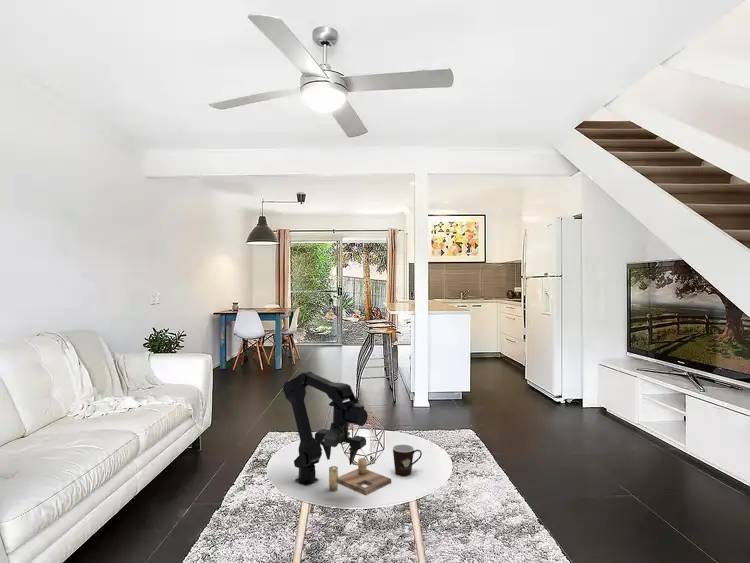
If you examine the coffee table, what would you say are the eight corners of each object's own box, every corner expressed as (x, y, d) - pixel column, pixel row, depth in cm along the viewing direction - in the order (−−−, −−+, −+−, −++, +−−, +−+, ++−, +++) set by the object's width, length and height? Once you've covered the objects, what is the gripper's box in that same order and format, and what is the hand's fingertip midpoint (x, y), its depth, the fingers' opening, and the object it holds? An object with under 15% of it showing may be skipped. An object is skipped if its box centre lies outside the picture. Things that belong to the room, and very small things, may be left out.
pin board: (335, 481, 178) (336, 463, 178) (361, 470, 188) (361, 453, 188) (366, 495, 167) (366, 475, 167) (391, 482, 178) (391, 464, 178)
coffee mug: (391, 476, 183) (391, 451, 183) (393, 468, 191) (393, 443, 191) (420, 478, 181) (421, 453, 181) (421, 469, 190) (421, 445, 190)
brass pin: (327, 489, 171) (327, 468, 171) (333, 486, 174) (333, 465, 174) (333, 492, 169) (333, 470, 169) (339, 489, 172) (339, 467, 172)
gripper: (306, 421, 165) (305, 464, 165) (353, 430, 157) (352, 476, 157) (323, 413, 175) (321, 454, 175) (367, 421, 167) (366, 464, 167)
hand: (339, 462), depth 168 cm, fingers open, 9 cm apart
